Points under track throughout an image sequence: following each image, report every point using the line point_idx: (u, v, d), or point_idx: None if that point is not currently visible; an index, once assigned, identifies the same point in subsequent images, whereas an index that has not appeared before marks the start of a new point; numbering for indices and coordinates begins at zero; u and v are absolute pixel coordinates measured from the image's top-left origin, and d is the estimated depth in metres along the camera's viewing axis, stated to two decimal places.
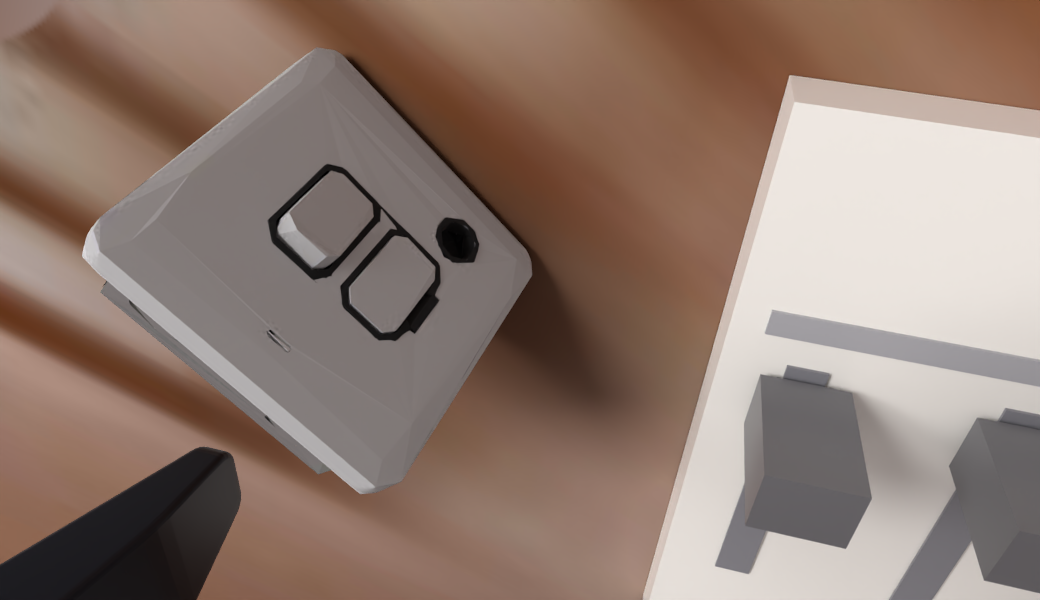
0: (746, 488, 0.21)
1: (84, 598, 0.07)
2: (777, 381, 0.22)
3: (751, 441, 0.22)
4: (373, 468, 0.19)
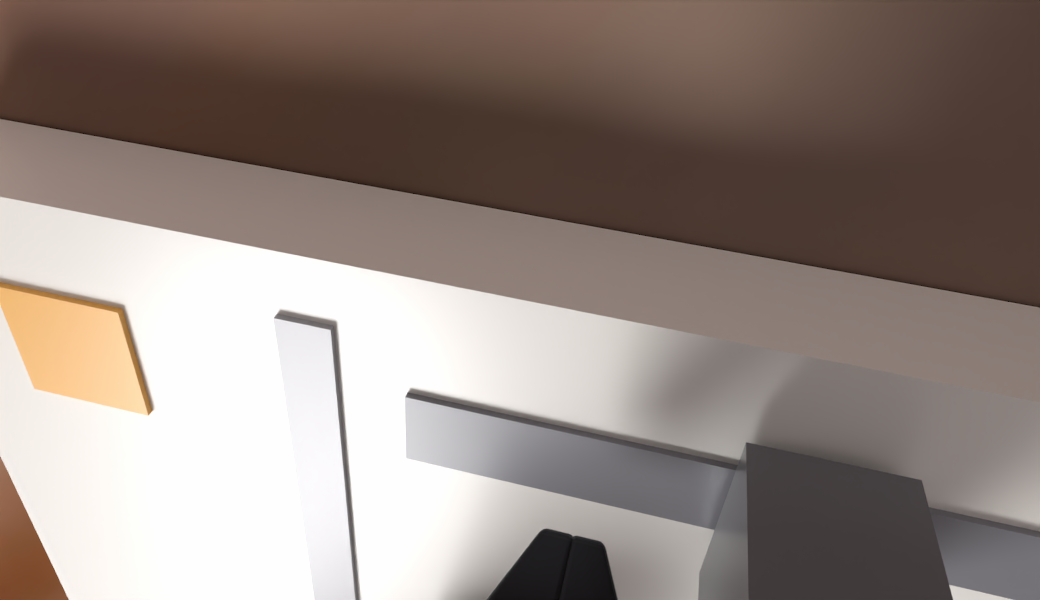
0: None
1: None
2: None
3: None
4: None
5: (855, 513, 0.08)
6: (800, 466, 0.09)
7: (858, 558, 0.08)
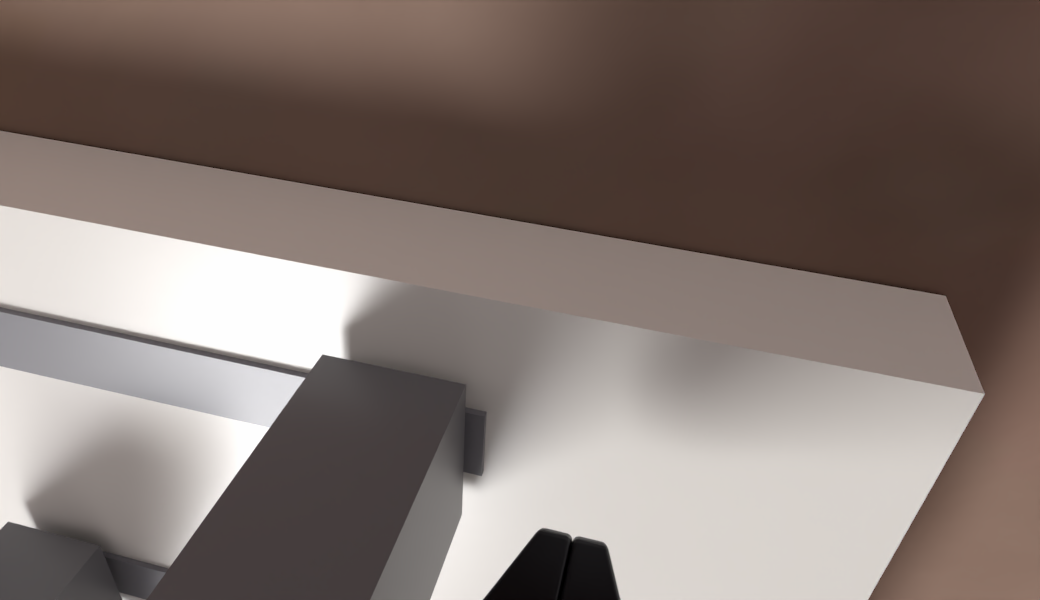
0: None
1: None
2: None
3: None
4: None
5: (384, 409, 0.09)
6: (360, 373, 0.10)
7: (362, 442, 0.09)
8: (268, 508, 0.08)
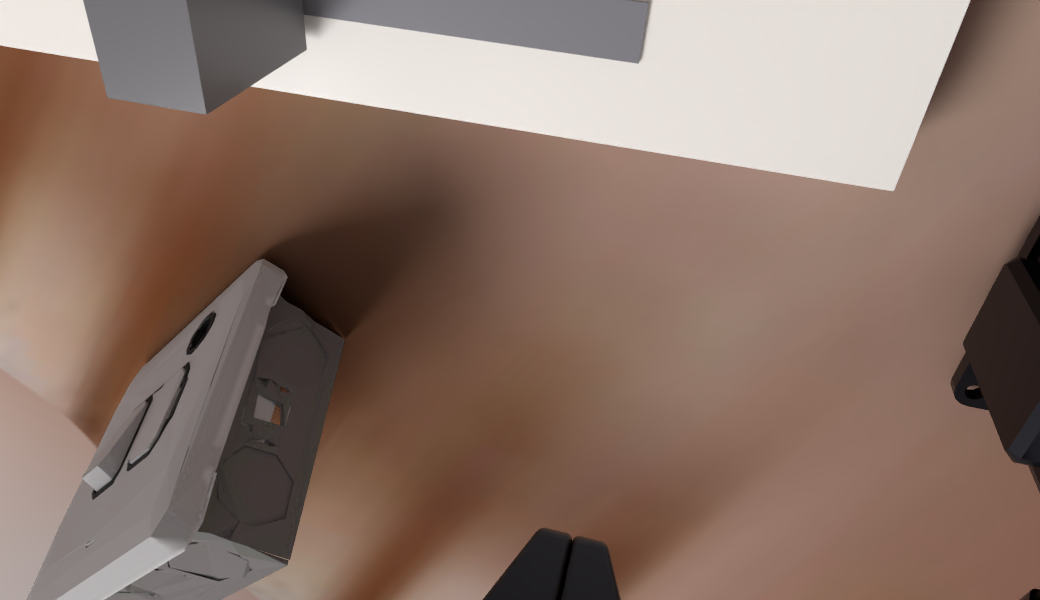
0: None
1: None
2: None
3: None
4: (151, 527, 0.18)
5: None
6: None
7: None
8: None
